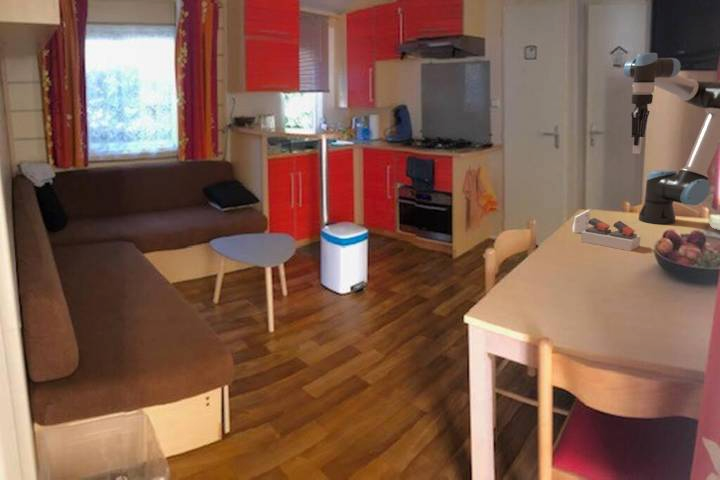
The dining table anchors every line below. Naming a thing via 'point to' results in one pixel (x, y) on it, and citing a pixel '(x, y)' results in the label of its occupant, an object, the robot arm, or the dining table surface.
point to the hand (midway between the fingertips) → (636, 153)
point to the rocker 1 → (598, 224)
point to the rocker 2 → (623, 228)
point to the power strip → (610, 238)
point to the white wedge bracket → (581, 222)
